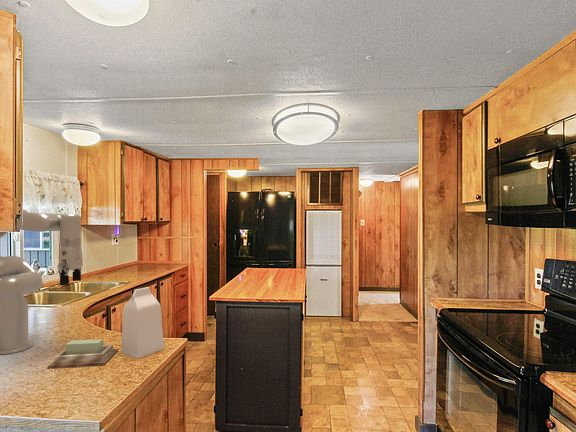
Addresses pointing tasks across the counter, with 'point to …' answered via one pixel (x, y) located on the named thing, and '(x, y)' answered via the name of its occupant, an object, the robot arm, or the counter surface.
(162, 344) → the milk
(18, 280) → the robot arm
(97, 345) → the bar
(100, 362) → the brown rectangular tray
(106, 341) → the counter surface
